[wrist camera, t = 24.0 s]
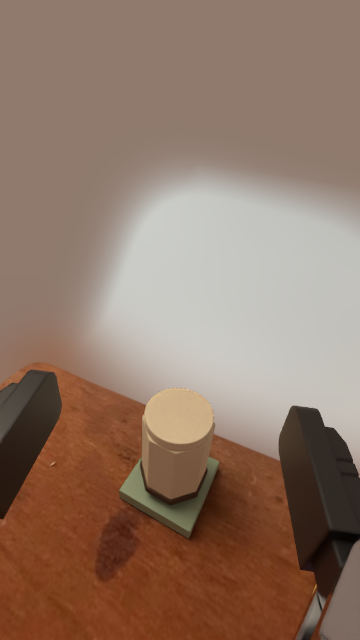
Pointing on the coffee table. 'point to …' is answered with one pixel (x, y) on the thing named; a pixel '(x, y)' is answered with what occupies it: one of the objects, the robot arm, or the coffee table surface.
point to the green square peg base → (172, 516)
